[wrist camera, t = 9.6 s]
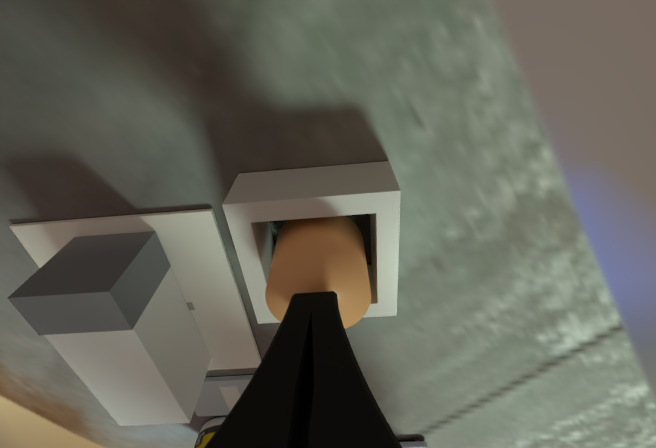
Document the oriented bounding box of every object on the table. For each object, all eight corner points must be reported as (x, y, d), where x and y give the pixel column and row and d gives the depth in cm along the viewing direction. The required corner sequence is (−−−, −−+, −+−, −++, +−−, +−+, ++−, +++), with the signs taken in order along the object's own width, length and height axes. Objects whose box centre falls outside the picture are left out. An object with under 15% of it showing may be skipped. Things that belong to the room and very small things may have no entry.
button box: (388, 275, 16) (396, 315, 14) (266, 283, 17) (258, 323, 15) (389, 160, 13) (400, 190, 11) (238, 173, 13) (221, 204, 11)
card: (284, 408, 23) (283, 413, 23) (198, 412, 23) (197, 417, 23) (273, 373, 21) (273, 379, 21) (180, 378, 21) (177, 384, 21)
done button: (364, 275, 15) (372, 330, 12) (284, 281, 15) (275, 336, 12) (361, 205, 13) (370, 253, 10) (269, 212, 13) (255, 261, 11)
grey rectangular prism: (212, 359, 20) (190, 425, 17) (150, 362, 20) (118, 428, 17) (155, 231, 15) (108, 291, 12) (74, 237, 15) (7, 297, 12)
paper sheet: (262, 364, 20) (262, 368, 20) (119, 372, 21) (117, 375, 21) (212, 208, 14) (210, 211, 14) (13, 224, 15) (8, 227, 15)
